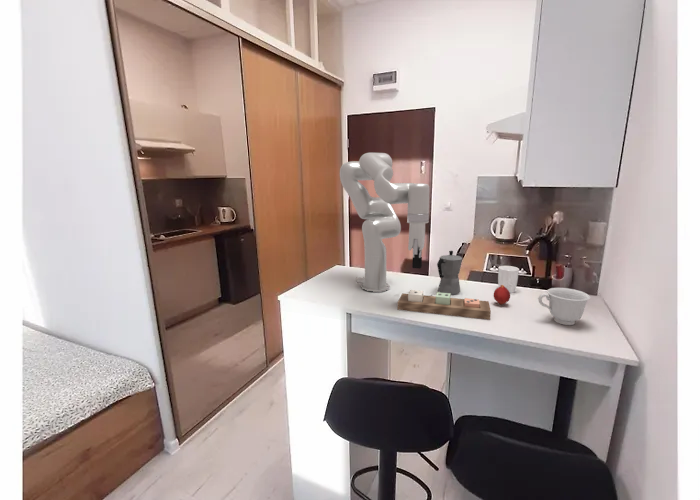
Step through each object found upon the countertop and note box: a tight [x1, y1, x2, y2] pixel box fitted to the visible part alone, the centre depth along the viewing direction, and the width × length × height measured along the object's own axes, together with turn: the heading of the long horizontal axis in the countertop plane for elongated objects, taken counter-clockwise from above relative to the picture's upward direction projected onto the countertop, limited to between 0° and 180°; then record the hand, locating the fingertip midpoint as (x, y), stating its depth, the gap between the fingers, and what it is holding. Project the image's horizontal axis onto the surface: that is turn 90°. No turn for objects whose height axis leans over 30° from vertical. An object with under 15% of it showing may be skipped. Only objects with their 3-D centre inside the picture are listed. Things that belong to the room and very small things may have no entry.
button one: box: [407, 289, 424, 302], centre depth 125 cm, size 5×5×3 cm
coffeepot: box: [436, 250, 463, 296], centre depth 139 cm, size 15×9×18 cm, turn 129°
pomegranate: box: [493, 285, 511, 306], centre depth 126 cm, size 6×6×8 cm
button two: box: [435, 291, 452, 305], centre depth 122 cm, size 5×5×3 cm
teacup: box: [537, 287, 591, 326], centre depth 110 cm, size 12×15×10 cm
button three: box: [463, 297, 480, 308], centre depth 119 cm, size 5×5×3 cm
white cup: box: [497, 265, 520, 294], centre depth 141 cm, size 8×8×10 cm
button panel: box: [397, 293, 492, 321], centre depth 123 cm, size 32×10×3 cm, turn 72°
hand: (417, 267), depth 123 cm, fingers closed
